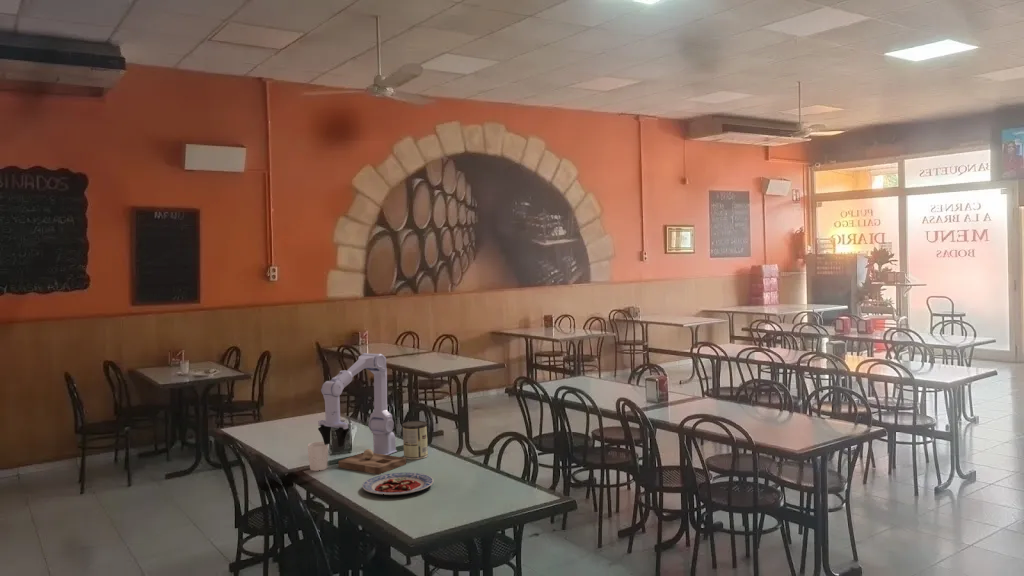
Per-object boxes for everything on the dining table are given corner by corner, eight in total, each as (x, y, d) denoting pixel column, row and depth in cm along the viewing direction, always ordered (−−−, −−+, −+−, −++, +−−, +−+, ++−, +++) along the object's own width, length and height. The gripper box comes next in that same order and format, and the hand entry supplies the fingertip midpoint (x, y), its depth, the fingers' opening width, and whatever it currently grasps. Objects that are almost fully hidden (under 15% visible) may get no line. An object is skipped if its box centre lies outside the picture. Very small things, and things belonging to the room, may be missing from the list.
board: (365, 457, 320) (365, 451, 320) (406, 464, 309) (406, 457, 308) (338, 467, 307) (338, 461, 307) (379, 474, 295) (379, 467, 295)
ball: (368, 457, 311) (367, 447, 311) (375, 458, 309) (375, 448, 309) (361, 459, 308) (361, 449, 308) (368, 460, 306) (368, 450, 306)
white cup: (325, 471, 302) (324, 446, 301) (306, 471, 302) (305, 446, 301) (331, 465, 309) (330, 441, 309) (311, 466, 310) (310, 441, 309)
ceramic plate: (420, 501, 262) (420, 492, 262) (350, 498, 267) (350, 490, 267) (442, 479, 287) (442, 471, 287) (378, 477, 292) (377, 469, 292)
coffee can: (406, 453, 326) (405, 420, 325) (430, 453, 325) (429, 420, 324) (400, 459, 315) (399, 426, 315) (425, 459, 314) (423, 426, 314)
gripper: (312, 411, 302) (313, 445, 302) (338, 414, 294) (340, 449, 295) (325, 408, 308) (326, 441, 308) (351, 411, 300) (352, 445, 301)
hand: (334, 445), depth 302 cm, fingers open, 7 cm apart
